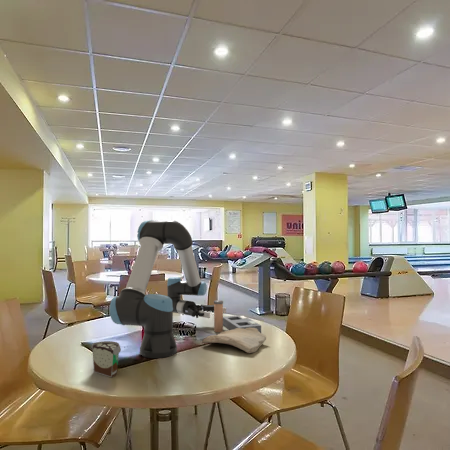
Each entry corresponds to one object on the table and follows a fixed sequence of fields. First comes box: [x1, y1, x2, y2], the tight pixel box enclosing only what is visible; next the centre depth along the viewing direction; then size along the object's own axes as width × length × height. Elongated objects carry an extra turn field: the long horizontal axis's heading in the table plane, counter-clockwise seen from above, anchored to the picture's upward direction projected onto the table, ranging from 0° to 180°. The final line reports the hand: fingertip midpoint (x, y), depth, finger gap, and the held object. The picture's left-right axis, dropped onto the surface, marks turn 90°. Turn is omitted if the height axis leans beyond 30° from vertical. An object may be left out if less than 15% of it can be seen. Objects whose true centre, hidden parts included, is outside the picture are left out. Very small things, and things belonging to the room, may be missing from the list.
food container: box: [91, 340, 122, 378], centre depth 130 cm, size 12×6×10 cm, turn 58°
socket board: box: [223, 314, 262, 334], centre depth 187 cm, size 24×12×4 cm, turn 20°
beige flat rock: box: [201, 327, 267, 354], centre depth 160 cm, size 24×8×20 cm
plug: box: [213, 299, 224, 333], centre depth 183 cm, size 5×5×15 cm
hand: (218, 312), depth 184 cm, fingers open, 13 cm apart
